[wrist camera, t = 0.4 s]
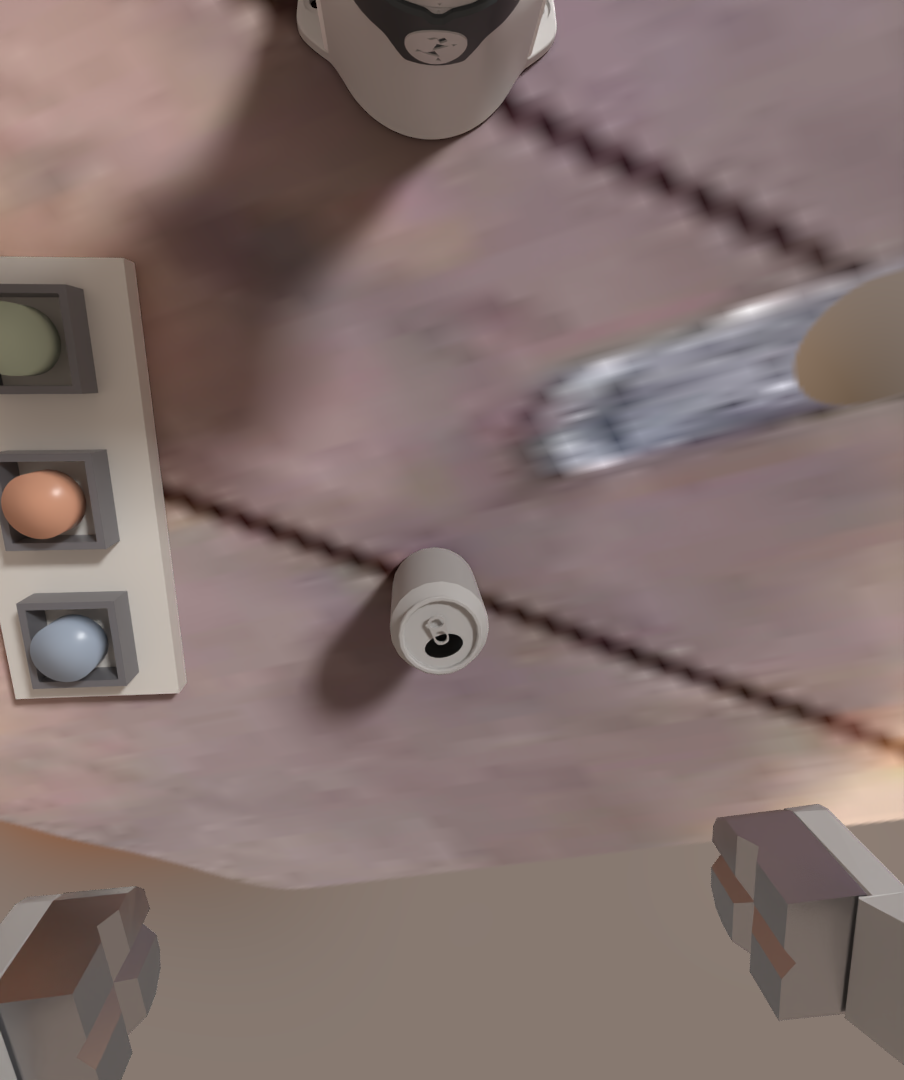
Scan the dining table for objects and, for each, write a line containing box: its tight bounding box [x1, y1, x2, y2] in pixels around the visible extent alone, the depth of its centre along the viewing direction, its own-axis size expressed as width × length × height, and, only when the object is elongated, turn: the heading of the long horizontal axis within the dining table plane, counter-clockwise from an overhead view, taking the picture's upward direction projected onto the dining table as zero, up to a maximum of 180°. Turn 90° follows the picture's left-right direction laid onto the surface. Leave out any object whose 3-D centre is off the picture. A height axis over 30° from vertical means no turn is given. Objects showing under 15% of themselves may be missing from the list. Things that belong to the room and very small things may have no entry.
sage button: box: [0, 301, 61, 376], centre depth 44 cm, size 5×5×2 cm
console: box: [0, 256, 187, 699], centre depth 50 cm, size 36×14×4 cm, turn 0°
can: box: [390, 547, 489, 675], centre depth 51 cm, size 8×8×12 cm
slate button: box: [30, 614, 108, 682], centre depth 50 cm, size 5×5×2 cm
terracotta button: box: [1, 469, 86, 539], centre depth 47 cm, size 5×5×2 cm
